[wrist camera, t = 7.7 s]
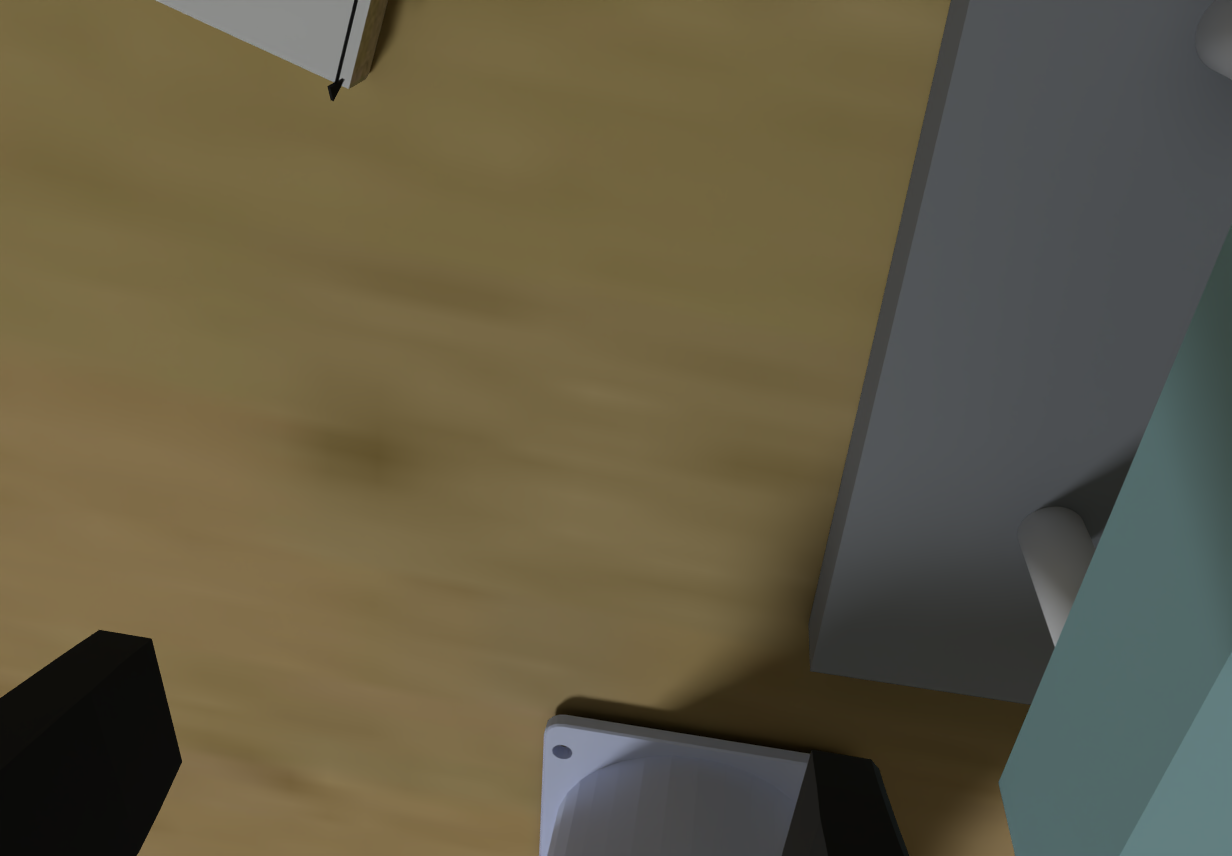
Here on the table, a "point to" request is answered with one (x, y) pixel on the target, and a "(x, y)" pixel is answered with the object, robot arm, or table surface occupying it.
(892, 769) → the table surface
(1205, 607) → the teal rectangular block
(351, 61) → the white ridged flat slab
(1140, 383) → the peg stand
